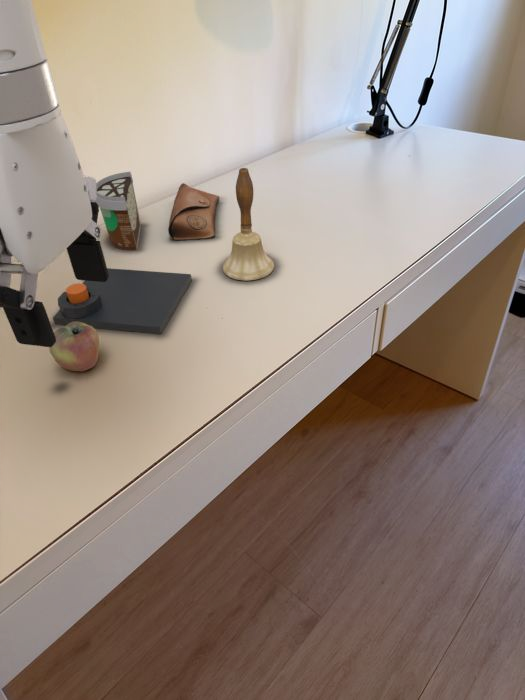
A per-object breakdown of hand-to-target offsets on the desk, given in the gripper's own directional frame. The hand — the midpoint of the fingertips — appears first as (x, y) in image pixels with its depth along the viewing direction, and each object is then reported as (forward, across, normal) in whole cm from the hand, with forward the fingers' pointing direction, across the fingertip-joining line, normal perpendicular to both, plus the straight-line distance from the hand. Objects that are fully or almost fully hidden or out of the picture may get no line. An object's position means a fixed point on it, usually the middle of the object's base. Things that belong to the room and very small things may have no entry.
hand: (67, 308), depth 46 cm
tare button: (+15, -22, -15) cm, 31 cm away
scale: (+18, -26, -10) cm, 33 cm away
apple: (+18, -12, -10) cm, 23 cm away
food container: (+18, -45, -19) cm, 52 cm away
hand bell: (+18, -39, +6) cm, 43 cm away
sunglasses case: (+18, -56, -8) cm, 59 cm away
